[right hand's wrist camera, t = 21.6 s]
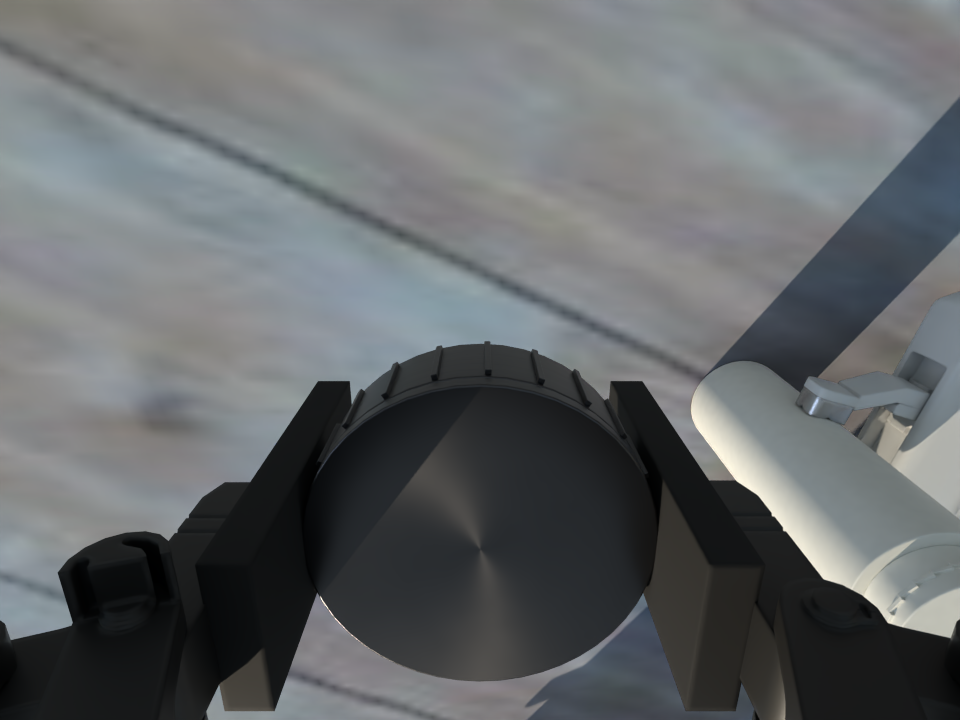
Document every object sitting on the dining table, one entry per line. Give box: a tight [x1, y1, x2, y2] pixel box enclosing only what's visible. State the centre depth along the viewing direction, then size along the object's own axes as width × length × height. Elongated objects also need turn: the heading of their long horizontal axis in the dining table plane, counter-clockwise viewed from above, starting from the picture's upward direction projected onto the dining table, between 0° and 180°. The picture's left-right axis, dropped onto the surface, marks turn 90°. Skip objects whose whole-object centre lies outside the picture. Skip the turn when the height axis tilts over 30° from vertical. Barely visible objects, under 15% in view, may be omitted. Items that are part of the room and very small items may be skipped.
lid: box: [302, 341, 658, 681], centre depth 11 cm, size 6×6×2 cm
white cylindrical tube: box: [691, 361, 960, 638], centre depth 27 cm, size 6×6×18 cm
